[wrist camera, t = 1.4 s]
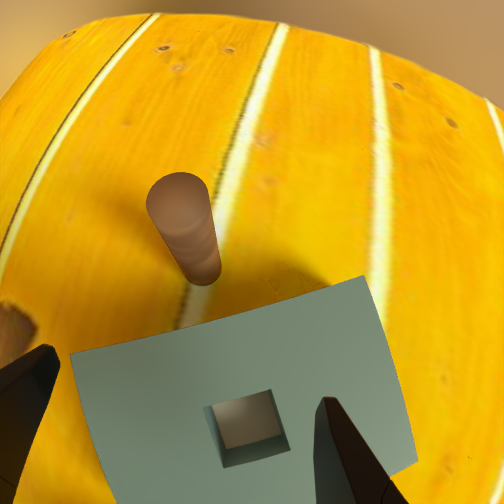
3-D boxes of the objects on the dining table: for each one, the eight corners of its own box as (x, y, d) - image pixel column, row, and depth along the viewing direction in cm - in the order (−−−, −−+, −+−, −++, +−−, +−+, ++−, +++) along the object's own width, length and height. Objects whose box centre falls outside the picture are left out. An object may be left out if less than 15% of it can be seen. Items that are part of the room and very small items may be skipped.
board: (152, 511, 17) (135, 538, 13) (100, 356, 22) (69, 353, 17) (388, 446, 20) (418, 460, 15) (341, 291, 24) (363, 274, 20)
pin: (188, 290, 24) (151, 235, 14) (180, 254, 25) (142, 181, 14) (225, 280, 24) (215, 218, 14) (216, 245, 25) (201, 165, 15)
